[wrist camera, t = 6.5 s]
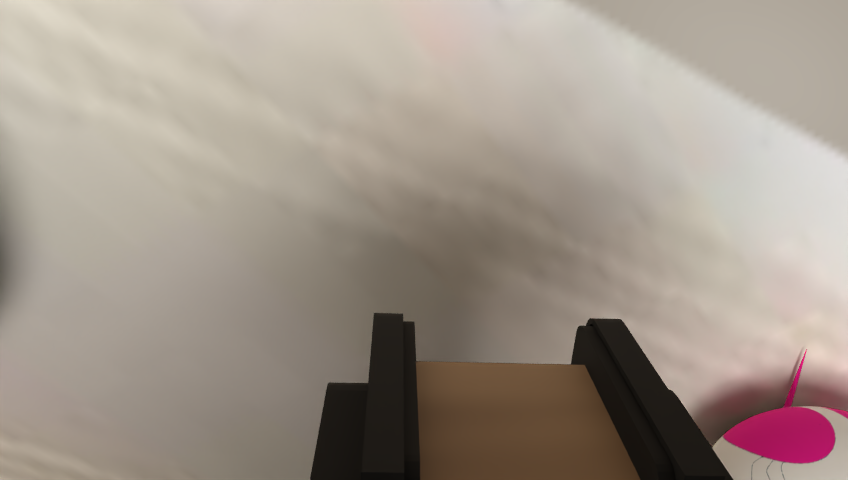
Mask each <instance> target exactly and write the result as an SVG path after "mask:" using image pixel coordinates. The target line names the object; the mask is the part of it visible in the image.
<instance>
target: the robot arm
mask: <svg viewBox="0 0 848 480" xmlns="http://www.w3.org/2000/svg"><path fill="white" fill-rule="evenodd" d="M571 365H585V367H586V369H587V371H588V373H589V375H590V377H591V379H592V381H593V383H594V385H595V387H596V389H597V391H598V393H599V395H600V397H601V399H602V402H603V404H604V406H605V408H606V410H607V412H608V414H609V416H610V418H611V420H612V422H613V424H614V426H615V428H616V430H617V432H618V434H619V436H620V439H621V441H622V443H623V445H624V447H625V449H626V451H627V453H628V455H629V457H630V459H631V461H632V463H633V465H634V467H635V469H636V471H637V473H638V476H639V478H640V480H733V478H732V477H731V475H730V474H729V472H728V471H727V469H726V468H725V466H724V465H723V463H722V462H721V460H720V459H719V458H718V456H717V455H716V453H715V452H714V450H713V449H712V447H711V446H710V444H709V443H708V441H707V440H706V438H705V437H704V435H703V434H702V432H701V431H700V429H699V428H698V426H697V425H696V423H695V422H694V421H693V419H692V418H691V416H690V415H689V413H688V412H687V410H686V409H685V407H684V406H683V404H682V403H681V401H680V400H679V398H678V397H677V396H676V395H675V393H674V392H673V391H671V390H668V388H667V387H666V385H665V384H664V382H663V381H662V379H661V378H660V376H659V375H658V373H657V372H656V370H655V369H654V367H653V366H652V364H651V363H650V361H649V360H648V358H647V357H646V355H645V354H644V352H643V351H642V349H641V348H640V346H639V345H638V343H637V342H636V340H635V339H634V337H633V336H632V334H631V333H630V331H629V330H628V328H627V327H626V325H625V324H624V322H623V321H622V320H621V319H594V318H591V319H589V320H588V322H587V324H586V326H579V327H578V329H577V332H576V337H575V343H574V349H573V355H572V361H571ZM310 480H420V445H419V421H418V397H417V373H416V349H415V325H414V322H404V321H403V314H392V313H374V320H373V332H372V344H371V357H370V369H369V381H368V383H328V386H327V390H326V396H325V401H324V407H323V412H322V418H321V423H320V428H319V434H318V439H317V445H316V450H315V456H314V461H313V467H312V472H311V477H310Z"/></svg>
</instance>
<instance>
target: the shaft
mask: <svg viewBox="0 0 848 480" xmlns="http://www.w3.org/2000/svg"><path fill="white" fill-rule="evenodd" d="M416 373H417V397H418V421H419V445H420V480H640V478H639V476H638V473H637V471H636V469H635V467H634V465H633V463H632V461H631V459H630V457H629V455H628V453H627V451H626V449H625V447H624V445H623V443H622V441H621V439H620V436H619V434H618V432H617V430H616V428H615V426H614V424H613V422H612V420H611V418H610V416H609V414H608V412H607V410H606V408H605V406H604V404H603V402H602V399H601V397H600V395H599V393H598V391H597V389H596V387H595V385H594V383H593V381H592V379H591V377H590V375H589V373H588V371H587V369H586V367H585V365H564V364H517V363H470V362H423V361H416Z"/></svg>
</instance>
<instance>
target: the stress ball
mask: <svg viewBox="0 0 848 480" xmlns="http://www.w3.org/2000/svg"><path fill="white" fill-rule="evenodd" d="M806 350H807V349H806ZM805 354H806V352H805ZM805 354H804V357H803V359H802V361H801V364H800V366H799V369H798V371H797V374H796V376H795V379H794V381H793V384H792V386H791V388H790V391H789V393H788V396H787V398H786V401H785V403H784V406H783V408H780V409H775V410H770V411H767V412H763V413H760V414H757V415H755V416H752V417H750V418H748V419H746V420H744V421H742V422H740V423H739V424H737V425H735V426H734V427H733V428H731V429H730V430H728V431H727V432H726V433H725V434H724V435H723V436H722V437H721V438H720V439H719V440H718V441H717V442H716V443H715V444H714V446H713V447H712V449H713V450H714V452H715V453H716V455H717V456H718V458H719V459H720V460H721V462H722V463H723V465H724V466H725V468H726V469H727V471H728V472H729V474H730V475H731V477H732V478H733V480H848V412H847V411H843V410H838V409H832V408H826V407H815V406H798V407H791V405H792V402H793V398H794V394H795V391H796V387H797V383H798V380H799V376H800V372H801V369H802V365H803V361H804V358H805Z"/></svg>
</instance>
